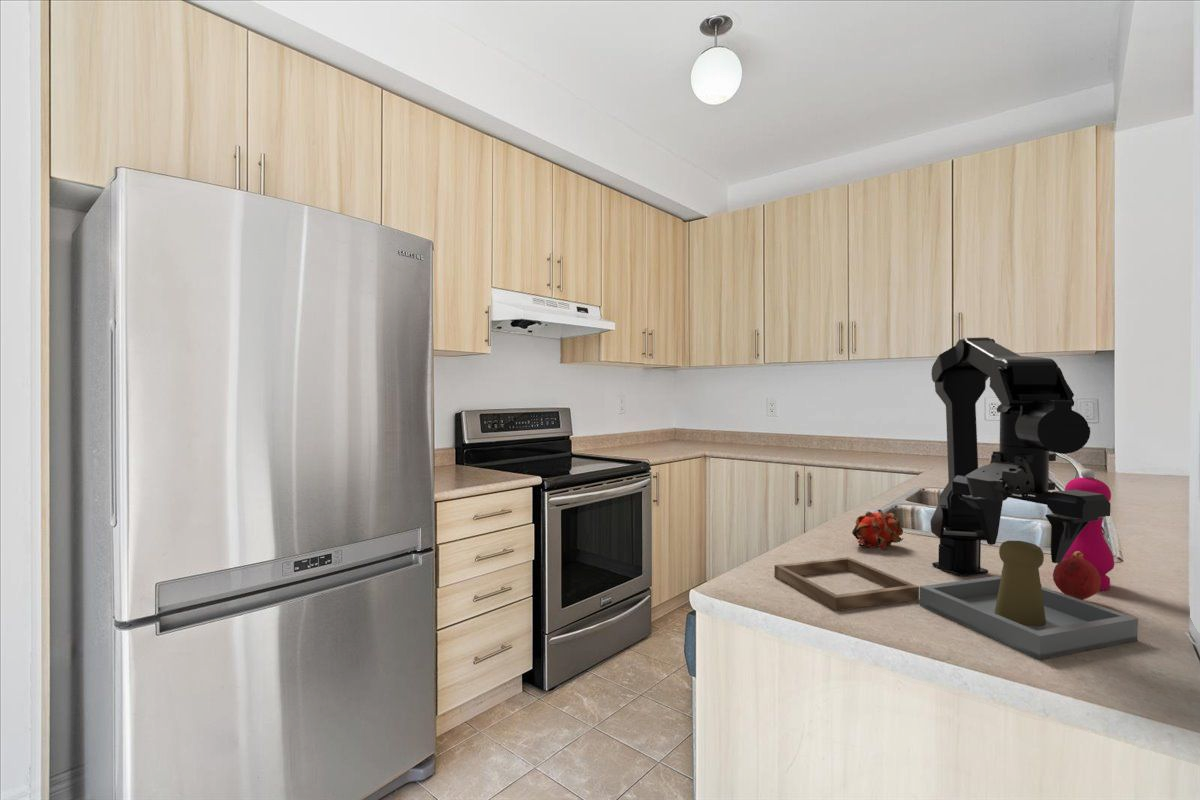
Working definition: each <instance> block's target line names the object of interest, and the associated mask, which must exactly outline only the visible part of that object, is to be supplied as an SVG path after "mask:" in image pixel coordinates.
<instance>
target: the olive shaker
mask: <svg viewBox="0 0 1200 800" xmlns="http://www.w3.org/2000/svg"><path fill="white" fill-rule="evenodd" d="M998 555H999V558H1000V560H1001V561H1002V562H1003V564H1002V568H1001V569H1002V570H1001V580H1000V586H999V591H998V597H997V602H996V608H995V614H997V615H999V616H1002V617H1004V618H1007V619H1009V620H1012V621H1014V622H1017V623H1019V624H1021V625H1026V626H1044V625H1045V624H1046V618H1045V611H1044V604H1043V597H1042V589H1041V587H1042V582H1041V577H1040V570H1039V568H1040V567H1042V566H1043V564H1044V561H1045V559H1044V557H1045V555H1044V551H1043V550H1042V548H1041V547H1040V546H1039V545H1037V544H1035V543H1031V542H1027V541H1022V540H1006V541H1003V542H1002V543H1001V544H1000V546H999V549H998Z"/></svg>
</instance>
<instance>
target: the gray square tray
mask: <svg viewBox="0 0 1200 800" xmlns="http://www.w3.org/2000/svg"><path fill="white" fill-rule="evenodd" d="M1001 575H1002V574H1001ZM1001 575H993V576H988V577H980V578H979V577H977V578H970V579H965V580H957V581H950V582H941V583H934V584H927V585H920V586H919V606H920V607H923V608H924V609H927V610H929V611H931V612H934V613H936V614H938V615H940V616H942V617H945V618H947V619H949V620H951V621H954V622H956V623H957V624H960V625H963V626H965V627H967V628H969V629H971V630H973V631H975V632H977V633H979V634H982V635H984V636H987V637H989V638H990V639H993V640H995V641H997V642H1000V643H1002V644H1003V645H1004V644H1005V645H1006V646H1009V647H1010V648H1013V649H1015V650H1017V651H1019V652H1022V653H1023V654H1026V655H1028V656H1030V657H1033V658H1034V659H1037V660H1039V661H1041V660H1045V659H1050V658H1055V657H1061V656H1065V655H1072V654H1075V653H1082V652H1086V651H1092V650H1097V649H1101V648H1106V647H1111V646H1118V645H1121V644H1127V643H1133V642H1138V631H1139V618H1138V617H1134V616H1132V615H1128V614H1125V613H1123V612H1119V611H1116V610H1115V609H1114V610H1113V609H1109V608H1107V607H1104V606H1101V605H1098V604H1095V603H1092V602H1090V601H1087V600H1085V599H1084V600H1081V599H1078V598H1075V597H1072V596H1069V595H1066V594H1064V593H1062V592H1059V591H1056V590H1053V589H1051V588H1048V587H1044V586H1041V589H1042V597H1043V604H1044V611H1045V618H1046V624H1045V625H1044V626H1026V625H1021V624H1019V623H1017V622H1014V621H1012V620H1009V619H1007V618H1004V617H1002V616H999V615H997V614H995V608H996V602H997V597H998V591H999V586H1000V580H1001Z"/></svg>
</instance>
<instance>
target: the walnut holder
mask: <svg viewBox="0 0 1200 800" xmlns="http://www.w3.org/2000/svg"><path fill="white" fill-rule="evenodd" d="M841 571H849V572H852V573H854V574H856V575H858V576H860V577H863V578H865V579H867V580H868V581H871V582H874V583H876V584H878V585H880V586H882V587H885V588H878V589H871V590H870V589H869V590H863V591H854V592H848V593H839V594H837V593H834V592H832V591H830V590H829V589H827V588H825V587H823V586H822V585H821V586H820V585H819V584H818V583H816V582H813V581H811V580H810V579H807V578H806V577H803V576H808V575H815V574H824V573H833V572H841ZM774 577H775V578H777V579H779V580H780V581H782V582H784V583H786V584H788V585H789V586H791V587H793V588H794V589H796V590H799V591H800V592H802V593H804V594H806V596H809V597H810V598H812V599H814V600H815V601H818V602H819V603H821V604H822V605H825V606H826V607H828V608H830V609H832V610H833V611H835V612H837V611H843V610H850V609H851V610H853V609H858V608H865V607H872V606H878V605H879V606H880V605H887V604H894V603H899V602H900V603H901V602H907V601H915V600H920V586H918V585H916V584H914V583H911V582H908V581H907V580H904V579H902V578H899V577H897V576H894V575H892V574H889V573H887V572H884V571H882V570H881V569H877V568H875V567H873V566H870V565H867V564H865V563H863V562H862V561H861V562H860V561H858V560H856V559H854V558H851V557H847V556H846V557H838V558H828V559H822V560H821V559H820V560H818V559H817V560H809V561H802V562H792V563H784V564H775V565H774Z"/></svg>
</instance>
